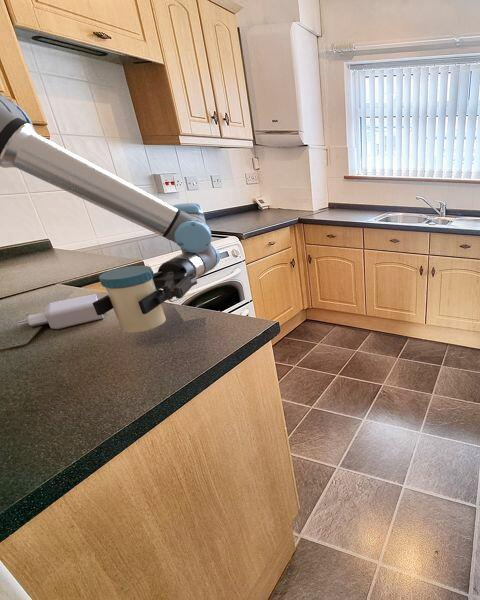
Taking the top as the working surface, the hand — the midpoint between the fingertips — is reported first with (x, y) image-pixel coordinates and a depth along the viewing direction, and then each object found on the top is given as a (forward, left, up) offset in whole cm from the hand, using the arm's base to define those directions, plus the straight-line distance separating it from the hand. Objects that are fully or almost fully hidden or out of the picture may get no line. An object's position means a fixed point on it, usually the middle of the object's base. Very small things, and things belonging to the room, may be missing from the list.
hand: (119, 308), depth 67 cm
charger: (-18, +26, -11) cm, 33 cm away
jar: (+2, +4, -6) cm, 8 cm away
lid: (+2, +4, +6) cm, 7 cm away
